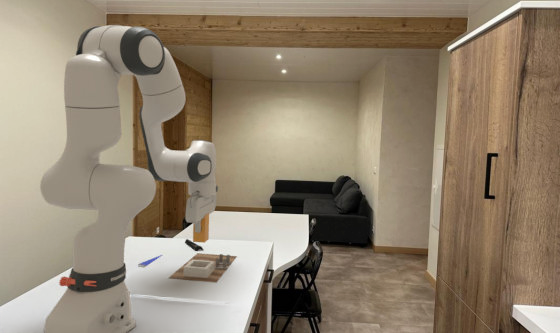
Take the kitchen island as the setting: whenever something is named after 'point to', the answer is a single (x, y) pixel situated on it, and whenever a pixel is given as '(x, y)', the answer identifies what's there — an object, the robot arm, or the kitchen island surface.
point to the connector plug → (204, 233)
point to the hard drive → (148, 262)
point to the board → (220, 267)
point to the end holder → (199, 268)
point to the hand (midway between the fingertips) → (201, 230)
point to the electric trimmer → (193, 245)
